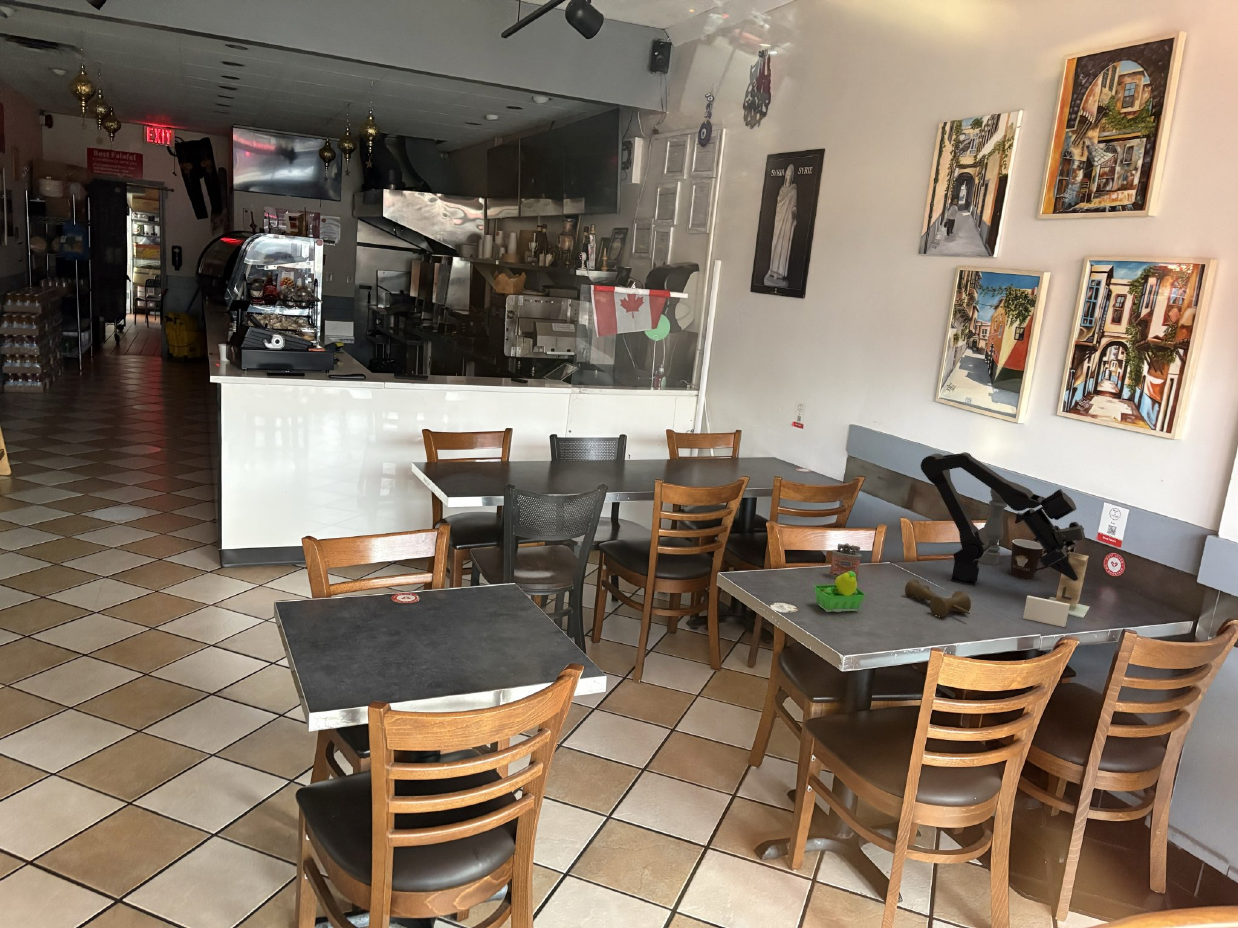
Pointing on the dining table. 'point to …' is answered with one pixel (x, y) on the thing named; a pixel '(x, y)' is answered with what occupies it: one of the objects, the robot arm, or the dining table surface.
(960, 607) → the kendama
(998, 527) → the candle holder
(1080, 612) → the display mat
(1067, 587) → the tan wooden tall block
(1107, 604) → the dining table surface
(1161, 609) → the dining table surface
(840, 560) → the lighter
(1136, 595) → the dining table surface
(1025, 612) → the screen
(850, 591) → the fruit basket
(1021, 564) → the coffee mug
